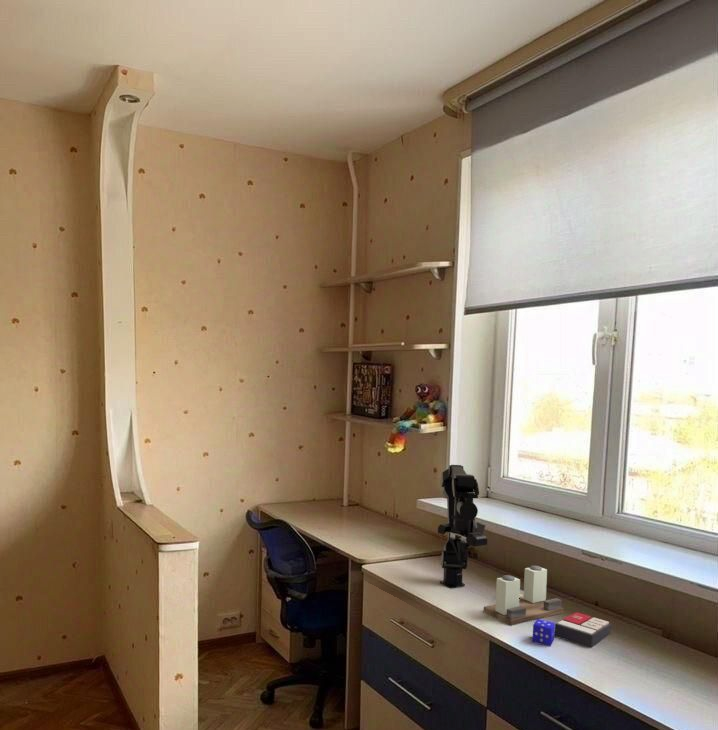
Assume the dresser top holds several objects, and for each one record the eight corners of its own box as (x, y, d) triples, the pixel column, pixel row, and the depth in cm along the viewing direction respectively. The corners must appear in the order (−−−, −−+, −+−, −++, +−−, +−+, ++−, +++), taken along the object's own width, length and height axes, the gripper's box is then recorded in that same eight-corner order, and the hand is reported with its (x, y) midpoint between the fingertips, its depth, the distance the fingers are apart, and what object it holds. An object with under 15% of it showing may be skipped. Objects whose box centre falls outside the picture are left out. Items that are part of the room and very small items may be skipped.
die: (550, 646, 176) (551, 628, 176) (532, 642, 178) (533, 624, 178) (554, 640, 180) (555, 622, 180) (536, 636, 182) (537, 618, 182)
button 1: (495, 610, 195) (496, 576, 196) (509, 607, 199) (510, 573, 199) (504, 615, 192) (506, 580, 192) (518, 612, 195) (520, 577, 195)
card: (507, 593, 217) (507, 591, 217) (520, 590, 220) (520, 589, 220) (525, 601, 210) (525, 599, 210) (537, 598, 213) (538, 596, 213)
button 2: (523, 599, 207) (524, 566, 207) (536, 596, 210) (537, 564, 210) (532, 603, 204) (534, 570, 204) (545, 600, 207) (547, 567, 207)
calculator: (611, 621, 187) (592, 632, 176) (610, 636, 187) (591, 648, 176) (575, 610, 194) (554, 621, 183) (574, 624, 194) (553, 636, 183)
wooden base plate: (483, 611, 199) (483, 598, 199) (534, 600, 211) (535, 588, 211) (511, 625, 189) (511, 612, 189) (563, 613, 201) (564, 600, 201)
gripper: (501, 517, 205) (499, 565, 205) (463, 505, 221) (461, 550, 221) (475, 520, 199) (473, 570, 199) (437, 507, 215) (435, 554, 215)
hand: (460, 560), depth 208 cm, fingers closed
